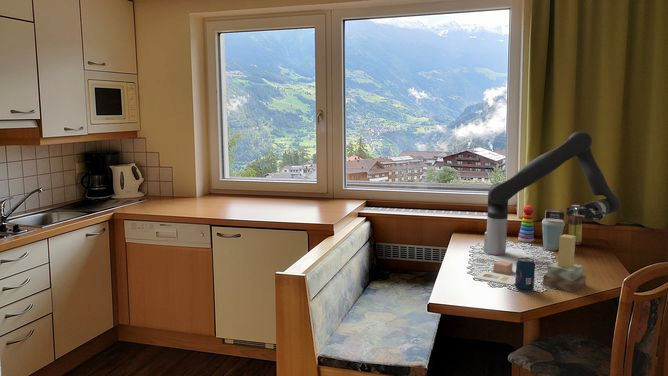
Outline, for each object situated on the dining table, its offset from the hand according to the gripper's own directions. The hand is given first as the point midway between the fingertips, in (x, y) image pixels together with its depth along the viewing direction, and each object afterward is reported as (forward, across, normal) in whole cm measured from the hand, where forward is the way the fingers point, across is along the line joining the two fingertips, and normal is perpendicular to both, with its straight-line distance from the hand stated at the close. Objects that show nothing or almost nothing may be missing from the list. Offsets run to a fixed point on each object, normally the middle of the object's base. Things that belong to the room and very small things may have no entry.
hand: (578, 215), depth 236 cm
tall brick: (+14, +2, +18) cm, 23 cm away
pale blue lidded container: (-51, -31, +26) cm, 65 cm away
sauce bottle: (-54, -21, +26) cm, 64 cm away
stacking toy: (-42, -41, +27) cm, 64 cm away
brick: (+15, -23, +27) cm, 39 cm away
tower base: (+14, +3, +26) cm, 30 cm away
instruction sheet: (+25, -20, +27) cm, 42 cm away
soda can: (+30, -6, +27) cm, 41 cm away
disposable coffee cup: (-36, -25, +26) cm, 51 cm away
